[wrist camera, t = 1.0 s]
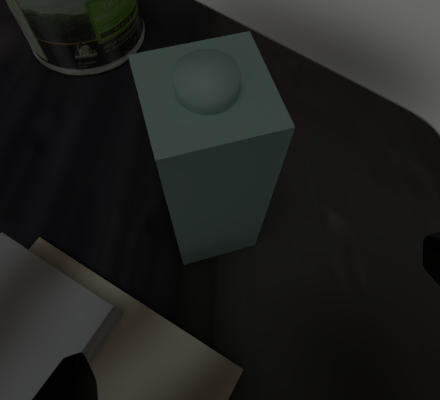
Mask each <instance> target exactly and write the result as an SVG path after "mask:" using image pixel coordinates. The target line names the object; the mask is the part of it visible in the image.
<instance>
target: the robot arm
mask: <svg viewBox="0 0 440 400" xmlns="http://www.w3.org/2000/svg"><path fill="white" fill-rule="evenodd" d="M423 265H424V268H425V270H426V271H427V273H428V274H429V275H430V276H431V277H432V278H433V279H434V280H435V281H436V282H437V283H438V284H439V285H440V232H439V233H435V234H432V235H429V236H427V237H425V239H424V241H423ZM32 400H98V391H97V382H96V378H95V376H94V374H93V371H92V369H91V367H90V365H89V363H88V361H87V359H86V357H85V355H84V354H83V353H81V352H79V353H76V354H73V355H70V356H67V357H65V358H63V359H62V360H61V362H60V363H59V364H58V366H57V367H56V368H55V370H54V371H53V372H52V374H51V375H50V376H49V378H48V379H47V380H46V382H45V383H44V384H43V386H42V387H41V388H40V390H39V391H38V392H37V394H36V395H35V396H34V397H33V399H32Z"/></svg>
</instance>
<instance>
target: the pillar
mask: <svg viewBox="0 0 440 400" xmlns="http://www.w3.org/2000/svg"><path fill="white" fill-rule="evenodd" d="M128 57H129V61H130V64H131V68H132V72H133V76H134V80H135V84H136V88H137V91H138V95H139V99H140V103H141V107H142V111H143V115H144V118H145V122H146V126H147V130H148V134H149V138H150V142H151V145H152V149H153V153H154V157H155V161H156V165H157V168H158V172H159V176H160V179H161V183H162V187H163V191H164V194H165V198H166V202H167V205H168V209H169V213H170V216H171V220H172V224H173V227H174V231H175V235H176V239H177V242H178V246H179V250H180V253H181V257H182V261H183V264H184V265H186V264H189V263H193V262H196V261H200V260H203V259H207V258H210V257H214V256H218V255H221V254H225V253H228V252H232V251H235V250H239V249H242V248H246V247H249V246H253V245H255V244H256V241H257V238H258V235H259V232H260V229H261V226H262V223H263V220H264V218H265V215H266V212H267V209H268V206H269V203H270V200H271V197H272V194H273V191H274V188H275V185H276V182H277V179H278V176H279V173H280V170H281V167H282V164H283V161H284V158H285V155H286V152H287V149H288V146H289V143H290V140H291V137H292V134H293V131H294V128H295V126H294V124H293V122H292V120H291V118H290V116H289V114H288V112H287V109H286V107H285V105H284V103H283V101H282V99H281V97H280V95H279V92H278V90H277V88H276V86H275V84H274V82H273V80H272V78H271V76H270V73H269V71H268V69H267V67H266V65H265V63H264V61H263V59H262V57H261V54H260V52H259V50H258V48H257V46H256V44H255V42H254V40H253V38H252V35H251V33H250V31H248V32H243V33H238V34H233V35H228V36H223V37H218V38H213V39H208V40H202V41H197V42H192V43H187V44H182V45H177V46H172V47H167V48H162V49H156V50H151V51H146V52H141V53H136V54H131V55H128Z"/></svg>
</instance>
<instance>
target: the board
mask: <svg viewBox="0 0 440 400" xmlns="http://www.w3.org/2000/svg"><path fill="white" fill-rule="evenodd" d="M79 352H81V353H83V354H84V355H85V357H86V359H87V361H88V363H89V365H90V367H91V369H92V371H93V374H94V376H95V378H96V382H97V391H98V400H228V399H229V397H230V395H231V393H232V391H233V389H234V387H235V385H236V383H237V381H238V380H239V378H240V376H241V374H242V372H243V370H244V369H242V368H241V367H239V366H237V365H236V364H234V363H233V362H231V361H230V360H228V359H227V358H225V357H224V356H222V355H220V354H219V353H217V352H216V351H214V350H213V349H211V348H210V347H208V346H207V345H205V344H204V343H202V342H200V341H199V340H197V339H196V338H194V337H193V336H191V335H190V334H188V333H187V332H185V331H183V330H182V329H180V328H179V327H177V326H176V325H174V324H173V323H171V322H170V321H168V320H166V319H165V318H163V317H162V316H160V315H159V314H157V313H156V312H154V311H153V310H151V309H150V308H148V307H146V306H145V305H143V304H142V303H140V302H139V301H137V300H136V299H134V298H133V297H131V296H129V295H128V294H126V293H125V292H123V291H122V290H120V289H119V288H117V287H116V286H114V285H112V284H111V283H109V282H108V281H106V280H105V279H103V278H102V277H100V276H99V275H97V274H96V273H94V272H92V271H91V270H89V269H88V268H86V267H85V266H83V265H82V264H80V263H79V262H77V261H75V260H74V259H72V258H71V257H69V256H68V255H66V254H65V253H63V252H62V251H60V250H58V249H57V248H55V247H54V246H52V245H51V244H49V243H48V242H46V241H45V240H43V239H42V238H40V237H39V238H38V239H37V241H36V242H35V243H34V244H33V245H32V246H31V248H30V249H29V250H28V249H26V248H25V247H23V246H22V245H20V244H18V243H17V242H15V241H14V240H12V239H11V238H9V237H8V236H6V235H5V234H3V233H2V232H1V233H0V400H32V399H33V397H34V396H35V395H36V394H37V392H38V391H39V390H40V388H41V387H42V386H43V384H44V383H45V382H46V380H47V379H48V378H49V376H50V375H51V374H52V372H53V371H54V370H55V368H56V367H57V366H58V364H59V363H60V362H61V360H62V359H63V358H65V357H67V356H70V355H73V354H76V353H79Z"/></svg>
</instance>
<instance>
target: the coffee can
mask: <svg viewBox="0 0 440 400" xmlns="http://www.w3.org/2000/svg"><path fill="white" fill-rule="evenodd" d="M6 2H7V4H8V6H9V8H10V10H11V11H12V13H13V15H14V17H15V18H16V20H17V22H18V24H19V26H20V27H21V29H22V31H23V33H24V35H25V37H26V38H27V40H28V42H29V44H30V46H31V48H32V51H33V53H34V55H35V56H36V58H37V59H38V60H39V61H40V62H41V63H42V64H43V65H45V66H46V67H48V68H49V69H51V70H54V71H57V72H59V73H63V74H67V75H77V76H84V75H95V74H100V73H103V72H107V71H109V70H112V69H114V68H116V67H118V66H120V65H122V64H124V63H125V62H127V61H128V60H129V57H128V55H131V54H136V52H137V51H138V49H139V48H140V47H141V45H142V43H143V40H144V36H145V25H144V21H143V19H142V15H141V10H140V5H139V0H6Z"/></svg>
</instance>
